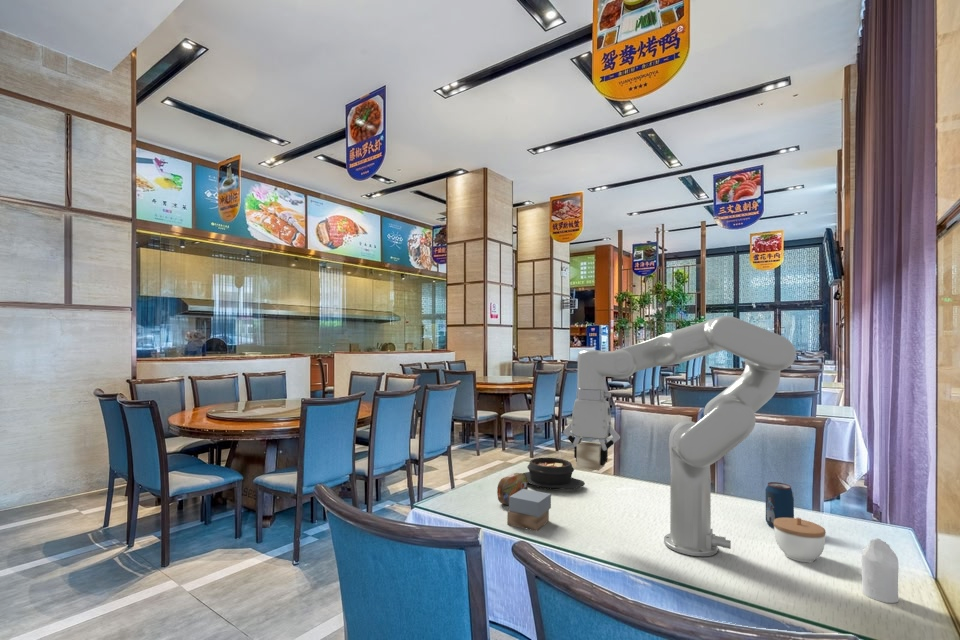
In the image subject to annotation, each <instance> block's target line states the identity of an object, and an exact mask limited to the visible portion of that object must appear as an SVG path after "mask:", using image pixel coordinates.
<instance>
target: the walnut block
mask: <svg viewBox="0 0 960 640" xmlns="http://www.w3.org/2000/svg"><path fill="white" fill-rule="evenodd" d="M506 517H507V518H506V519H507V522H506V523H507V524H506V525H508V526H512V527H515V528H516V527H517V528H522V529H526V528H527V529H526V530H530V529H531V531H535V532H538V531H539V530H540V529H541V528H542V527H543V526H544V524H545V525H546V524H547V523H548V522H549V521H550V509H549V510H547V511H546V512H545V513H543V514H542V515H541V516H539V517H535V516H530V515H525V514H521V513H516V512H511V511H509V510H507V515H506Z"/></svg>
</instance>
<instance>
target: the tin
mask: <svg viewBox="0 0 960 640" xmlns="http://www.w3.org/2000/svg"><path fill="white" fill-rule="evenodd" d="M523 473H524V472H523ZM523 473H522V472H521V473H520V472H515V473H512V474H509V475H507V476H504V477H503V478H501V479H500V480H499V482H498V484H497V487H496V488H497V490H496V492H497V493H496V494H497V495H496V496H497V500H498V501H499V503H500V504H502V505H506V506H509V497H510V496H511V495H513V494H515V493H516V492H518V491H520V490H522V489H527V490H529V489H528V488H529V487H528V486H529V483H528V480H527V477H526V475H525V474H523Z"/></svg>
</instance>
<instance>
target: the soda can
mask: <svg viewBox="0 0 960 640" xmlns="http://www.w3.org/2000/svg"><path fill="white" fill-rule="evenodd" d="M794 496H795V495H794V491H793V489H792V486H791V485H789V484H787V483H782V482H775V481H773V482H772V481H771V482H770V481H769V482H767V486H766V488H765V522H766V524H767V525H768V527H769V528H771V529H773V530H774V520H775V519H776V518H795V506H794V505H795V504H794V503H795V501H794V500H795V499H794V498H795V497H794Z"/></svg>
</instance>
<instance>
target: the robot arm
mask: <svg viewBox="0 0 960 640" xmlns="http://www.w3.org/2000/svg"><path fill="white" fill-rule="evenodd" d="M721 351H726V352H728V353H730V354H732V355H734V356H736V357H739V358H741V359H744V363H745V364H744V369H743V372H742V373H741V375H740V376H739V377H738V378H737V379H735V381H733V382H732V383H731V384H730V385H729V386H727V387H726V388H725V389H724V390H722V391H721V392H720V393H719V394H717V395H715V397H713V398H712V399H710V400H709V401H708V402H707V403H706V405H705V407H704V409H703V417H702V418H701V419H699V420H698V421H697V422H695V421H689V420H685V421H681V422H678V423H676V425H674V426H673V428H672V429H671V431H670V433H669V436H668V437H669V438H668V449H669V450H668V451H669V461H670V464H669V465H670V481H669V482H670V483H669V484H670V492H669V493H670V498H669V499H670V502H669V503H670V509H669V510H670V514H669V515H670V518H669V519H670V520H669V521H670V522H669V523H670V531H669V533H668V534H665V536H664V537H663V543H664V544H665V546H666V547H667V548H668V549H670V550H672V551H674V552H677V553H679V554H683V555H686V556H693V557H711V556H715V554H717V553H718V547H720V548H721V547H722V548H725V549H732V546H731V545H732V544H731V543H732V542H731V540H729V539H727V538H726V537H725V536H720V535H719V536H718V535H716V534H715V533H714V532H713V531H714V530H713V528H711V527H712V526H711V524H712V522H711V520H712V519H711V518H712V517H711V515H712V513H711V509H712V508H711V506H712V505H711V500H712V499H711V495H712V494H711V493H712V492H711V488H712V487H711V486H712V483H711V481H712V480H711V479H712V475H711V465H713V464H715V463H716V462H717V461H719V460H720V459H722V458H723V457H724V456H725V455H727V454H729V452H731V451H732V450H733V449H735V448H736V447H737V446H738V445H739V444H741V443H742V442H743V441H744V440H745V439H748V437H749V436H750V435H751V434H752V432H753V430H754V429H755V425H756V415H755V413H757V412H758V411H759V410H760V409H761V408H762V407H763V406H764V405H765V404H767V403H768V401H770V400H771V399H772V398H773V396H774V395H775V394H776V392H777V390H778V388H779V385H780V381H781V371H783V370H786V369H788V368H789V367H791V365H793V364H794V362H795V361H796V357H797V352H796V348H795V346H794V344H793V342H791V341H790V340H789V339H787V338H786V337H785V336H783V335H781V334H778V333H776V332H773V331H771V330H768V329H765V328H763V327H761V326H757V325H755V324H753V323H750V322H748V321H745V320H744V319H740V318H737V317H734V316H731V315H730V316H729V315H723V316H718V317H714V318H711V319H707V320H705V321H700V322H697V323H694V324H692V325H688V326H685V327H682V328H681V327H680V328H679V329H675V330H672V331H668V332H666V333H663V334H660V335H658V336H656V337H653V338H651V339H648V340H645V341H642V342H639V343H636V344H632V345H628V346H627V347H622V348H619V349H616V350H612V351H611V350H609V351H603V350H600V349H599V350H597V349H596V350H595V349H587V350H586V349H584V350H583V349H582V350H580V351H579V352H578V354H577V381H576V382H577V386H576V387H577V391H576V393H577V395H576V399H575V400H574V402H573V403H574V404H573V407H572V415H571V423H570V424H569V425H567V427H566V428H565V429H564V430H563V431H562V433H563V435H565V437H566V438H567V440H569V441H570V443H571V445H572V447H574V448H573V450H574V451H573V453H574V455H573V458H575V462H576V463H577V444H579V443H581V442H582V441H583V439H584V438H585V439H593V440H598V441H599V443H600V444H601V447H602V450H601V451H600V465H602V466H603V465H604V464H605V465H606V463H607V462H608V453H609V452H608V450H609V449H610V447H612V446H613V445H614V444H615V443H616V442H617V441H619V440H620V439H621V436H620V434H619V433H618V432H617V431H616V430H615V429H614V427H613V426H612V416H611V415H612V414H611V407H610V406H611V405H610V401H607V400H606V399H608V398H611V397H612V392H608V391H607V389H606V388H607V387H606V384H607V381H606V379H607V378H606V377H609V378H610V377H611V378H615V379H627V378H629V377H631V376H632V375H633V374H634V373H637V372H641V371H644V370H648V369H651V368H655V367H656V368H657V367H661V366H669V365H670V366H672V365H676V364H682V363H685V362H689V361H691V360H694V359H698V358H701V357H705V356H709V355H711V354H714V353H718V352H721ZM609 437H612V438H611V439H610V440H609V441H608V438H609Z"/></svg>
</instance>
